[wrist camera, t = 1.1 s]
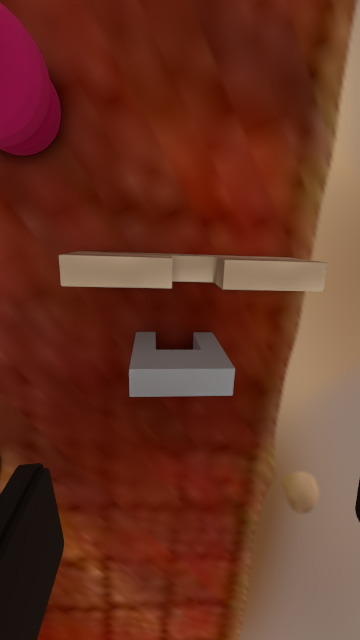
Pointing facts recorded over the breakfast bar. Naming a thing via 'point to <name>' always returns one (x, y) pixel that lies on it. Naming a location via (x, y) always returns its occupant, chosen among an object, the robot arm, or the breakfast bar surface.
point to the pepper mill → (24, 92)
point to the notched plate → (180, 368)
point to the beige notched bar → (190, 271)
